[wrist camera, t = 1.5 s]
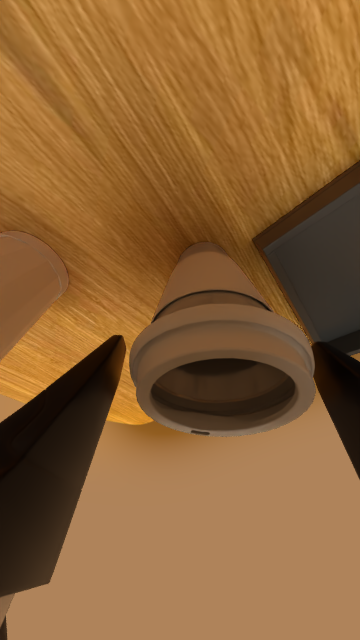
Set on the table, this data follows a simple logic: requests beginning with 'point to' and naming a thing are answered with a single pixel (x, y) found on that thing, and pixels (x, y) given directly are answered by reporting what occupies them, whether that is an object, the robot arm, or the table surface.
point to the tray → (321, 261)
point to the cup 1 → (26, 284)
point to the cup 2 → (220, 353)
